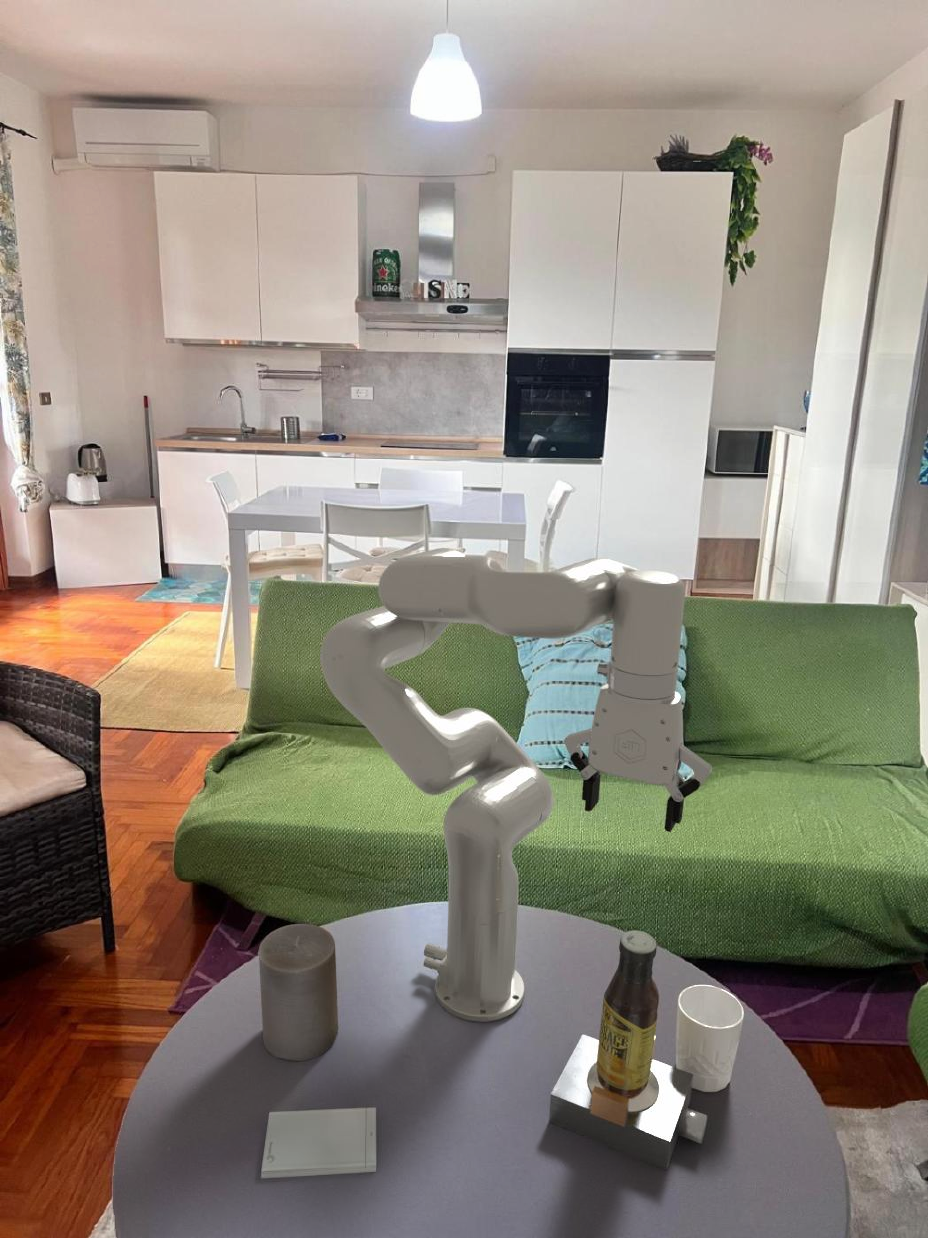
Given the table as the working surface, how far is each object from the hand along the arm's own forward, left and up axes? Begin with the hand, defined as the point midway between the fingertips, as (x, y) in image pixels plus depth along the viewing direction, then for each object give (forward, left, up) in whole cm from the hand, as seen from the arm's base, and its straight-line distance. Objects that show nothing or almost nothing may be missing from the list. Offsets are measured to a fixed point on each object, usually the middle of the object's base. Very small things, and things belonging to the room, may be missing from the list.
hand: (630, 816), depth 107 cm
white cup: (+11, +3, -34) cm, 36 cm away
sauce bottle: (+4, -8, -30) cm, 32 cm away
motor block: (+5, -8, -34) cm, 36 cm away
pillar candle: (-37, -16, -34) cm, 53 cm away
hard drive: (-25, -29, -35) cm, 52 cm away
